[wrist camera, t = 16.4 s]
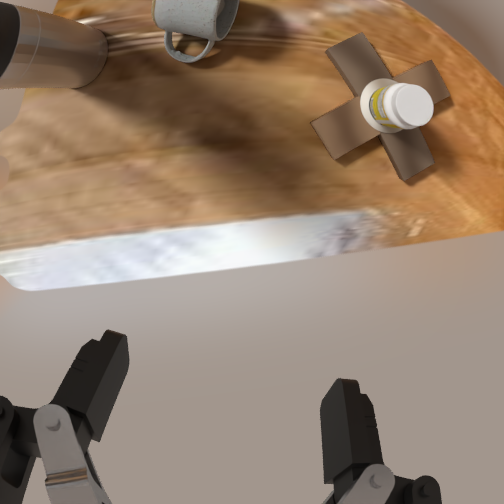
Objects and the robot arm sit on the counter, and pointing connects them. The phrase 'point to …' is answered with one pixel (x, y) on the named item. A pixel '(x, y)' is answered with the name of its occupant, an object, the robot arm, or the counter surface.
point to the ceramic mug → (194, 21)
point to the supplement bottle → (401, 106)
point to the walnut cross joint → (357, 109)
